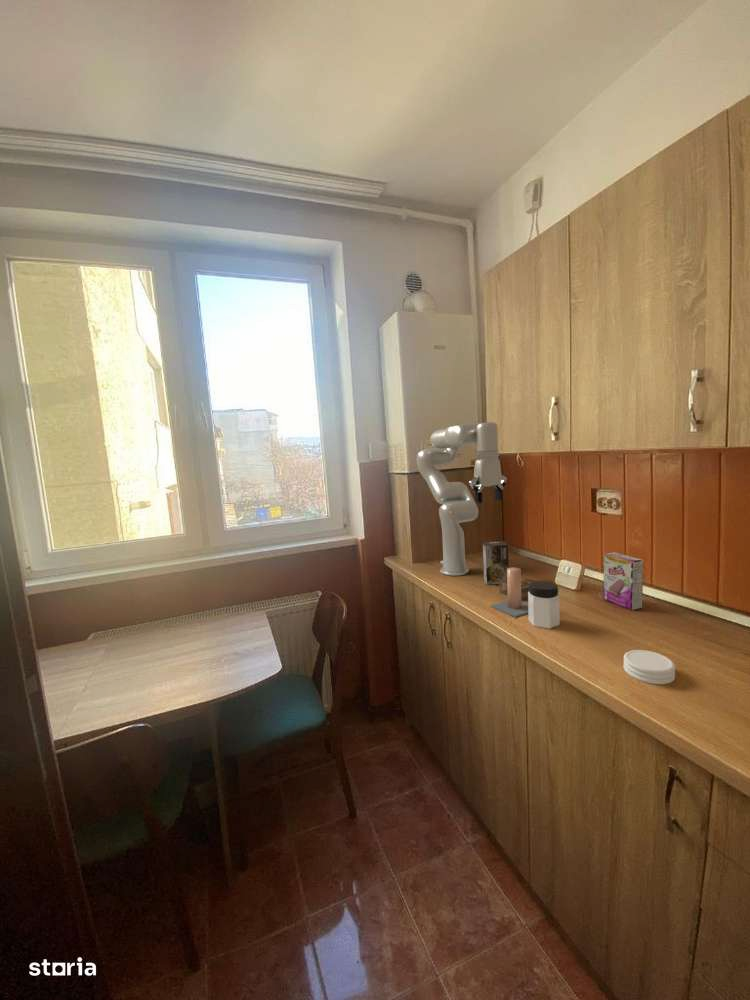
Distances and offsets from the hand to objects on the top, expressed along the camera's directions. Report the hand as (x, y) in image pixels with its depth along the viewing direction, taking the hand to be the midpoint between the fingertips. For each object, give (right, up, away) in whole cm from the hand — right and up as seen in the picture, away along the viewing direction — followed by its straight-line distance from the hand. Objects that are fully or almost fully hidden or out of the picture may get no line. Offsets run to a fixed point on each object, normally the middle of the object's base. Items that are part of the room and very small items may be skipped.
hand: (489, 501), depth 152 cm
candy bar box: (+39, -35, -18) cm, 55 cm away
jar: (+9, -38, -28) cm, 48 cm away
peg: (+4, -36, -16) cm, 39 cm away
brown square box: (+10, -34, -3) cm, 36 cm away
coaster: (+21, -41, -57) cm, 73 cm away
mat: (+4, -36, -16) cm, 40 cm away
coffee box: (+6, -33, +12) cm, 36 cm away
